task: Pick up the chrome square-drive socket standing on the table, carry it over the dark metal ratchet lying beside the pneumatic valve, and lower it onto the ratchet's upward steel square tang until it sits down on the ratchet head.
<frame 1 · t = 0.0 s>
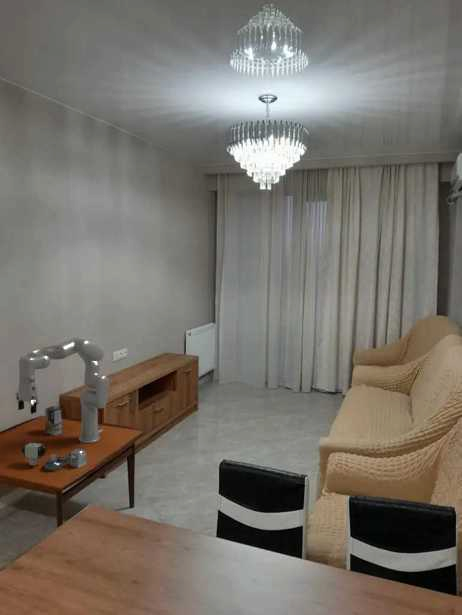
hand: (27, 411, 247), 31 cm above the table, fingers open, 9 cm apart
socket: (78, 464, 257), on the table
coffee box: (53, 433, 298), on the table
ratchet: (53, 467, 252), on the table
pneumatic valve: (34, 464, 255), on the table
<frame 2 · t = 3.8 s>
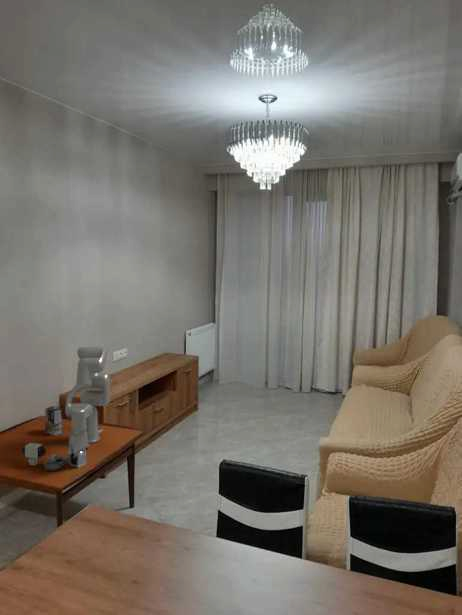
hand: (78, 461, 256), 2 cm above the table, fingers closed on socket, 6 cm apart
socket: (78, 464, 257), on the table, touching gripper
everything else where it was.
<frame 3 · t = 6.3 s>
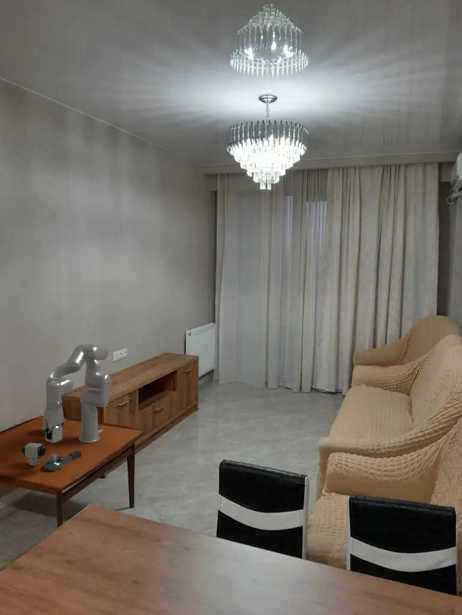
hand: (53, 437, 249), 17 cm above the table, fingers closed on socket, 6 cm apart
socket: (53, 439, 250), point 16 cm above the table, touching gripper
everything else where it was.
when the fingers open (5 cm above the table, at t = 8.7 s): socket stays where it is, resting on ratchet.
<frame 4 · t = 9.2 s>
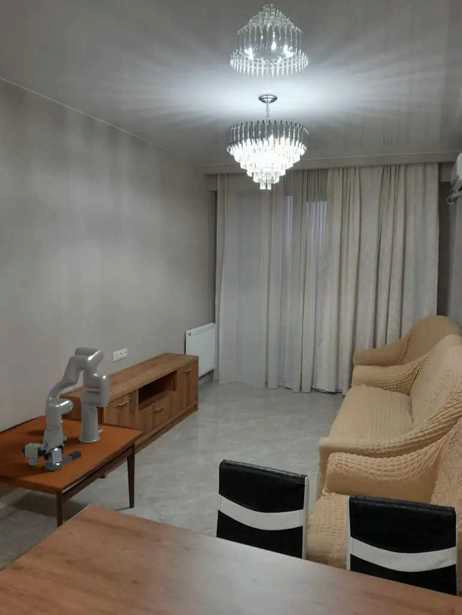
hand: (53, 456, 251), 6 cm above the table, fingers open, 9 cm apart
socket: (53, 461, 251), point 3 cm above the table, tilted 6°, touching ratchet
everything else where it was.
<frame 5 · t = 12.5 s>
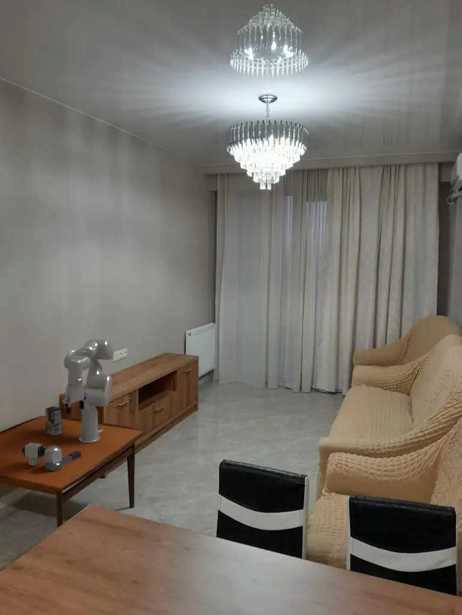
hand: (75, 411, 259), 28 cm above the table, fingers open, 9 cm apart
nothing on the table moved.
at the end: socket 0.2 cm off-centre on the ratchet, point 3.3 cm above the ratchet's base; socket tilted 6°; the gripper is holding nothing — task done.
